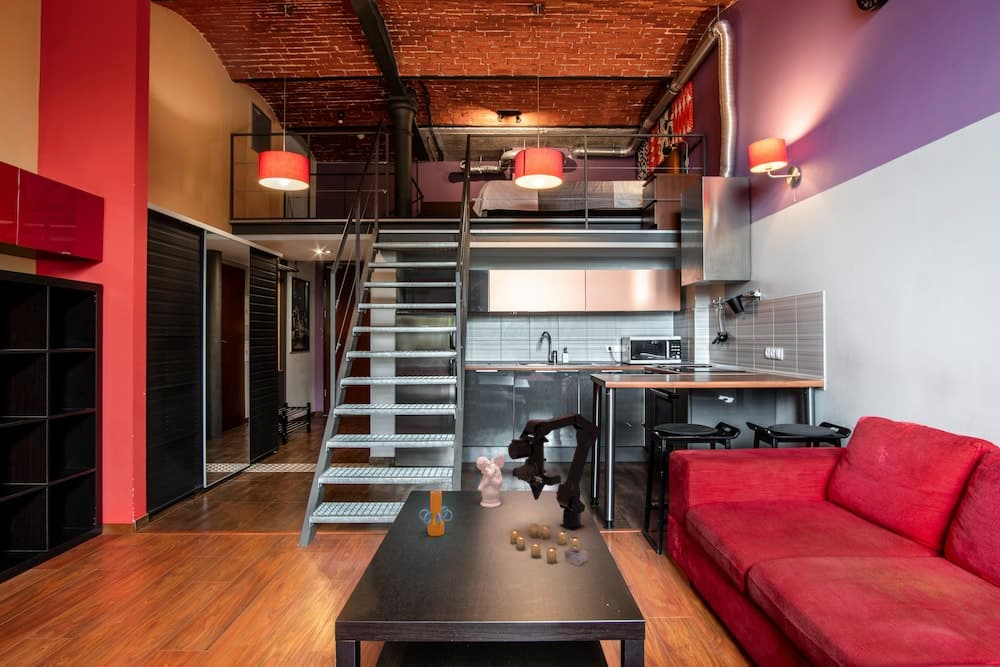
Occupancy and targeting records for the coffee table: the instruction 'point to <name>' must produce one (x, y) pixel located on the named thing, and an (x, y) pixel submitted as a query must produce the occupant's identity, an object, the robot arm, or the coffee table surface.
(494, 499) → the cherub figurine
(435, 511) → the orange column with rings
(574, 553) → the zinc nut
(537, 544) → the spacers
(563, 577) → the coffee table surface
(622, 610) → the coffee table surface
